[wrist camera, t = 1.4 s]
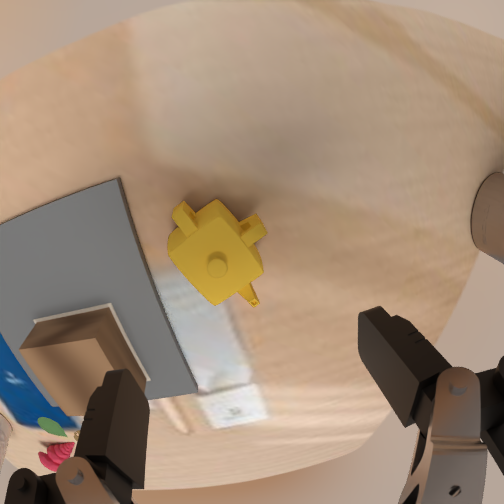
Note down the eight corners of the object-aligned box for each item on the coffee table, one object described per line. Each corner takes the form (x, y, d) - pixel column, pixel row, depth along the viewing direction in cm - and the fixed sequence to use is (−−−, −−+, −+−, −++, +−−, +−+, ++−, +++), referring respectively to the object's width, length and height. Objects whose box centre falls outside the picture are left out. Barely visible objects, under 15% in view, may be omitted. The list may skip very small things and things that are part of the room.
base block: (109, 307, 21) (95, 337, 18) (146, 378, 24) (141, 411, 21) (36, 322, 21) (18, 349, 17) (77, 386, 24) (67, 416, 20)
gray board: (119, 177, 19) (116, 179, 18) (197, 386, 27) (198, 393, 26) (-36, 242, 18) (-41, 246, 17) (54, 401, 26) (52, 407, 25)
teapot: (285, 253, 23) (306, 285, 18) (223, 296, 24) (229, 335, 19) (222, 166, 20) (227, 176, 15) (156, 217, 20) (142, 242, 16)
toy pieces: (98, 469, 32) (94, 491, 28) (33, 438, 29) (26, 460, 25) (121, 443, 30) (117, 470, 26) (42, 405, 26) (31, 431, 22)
